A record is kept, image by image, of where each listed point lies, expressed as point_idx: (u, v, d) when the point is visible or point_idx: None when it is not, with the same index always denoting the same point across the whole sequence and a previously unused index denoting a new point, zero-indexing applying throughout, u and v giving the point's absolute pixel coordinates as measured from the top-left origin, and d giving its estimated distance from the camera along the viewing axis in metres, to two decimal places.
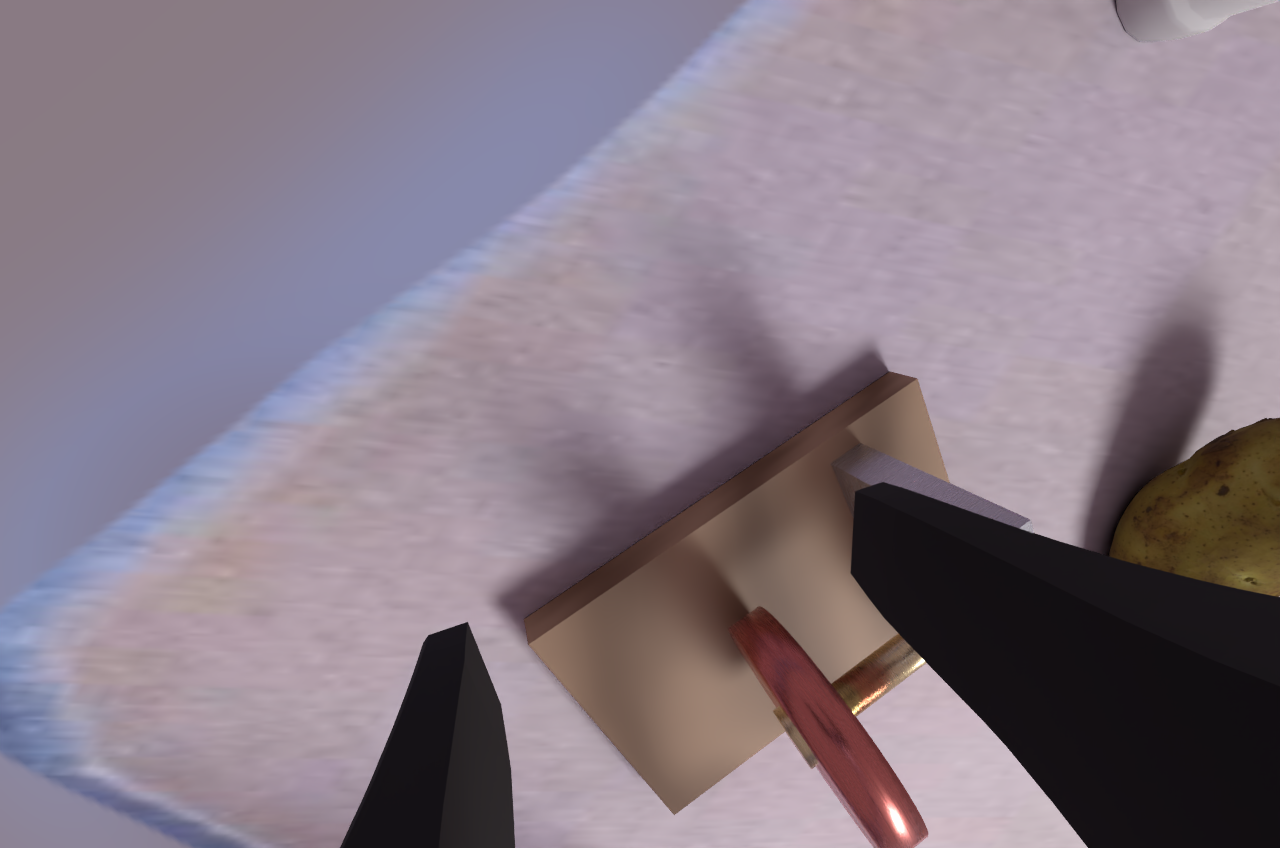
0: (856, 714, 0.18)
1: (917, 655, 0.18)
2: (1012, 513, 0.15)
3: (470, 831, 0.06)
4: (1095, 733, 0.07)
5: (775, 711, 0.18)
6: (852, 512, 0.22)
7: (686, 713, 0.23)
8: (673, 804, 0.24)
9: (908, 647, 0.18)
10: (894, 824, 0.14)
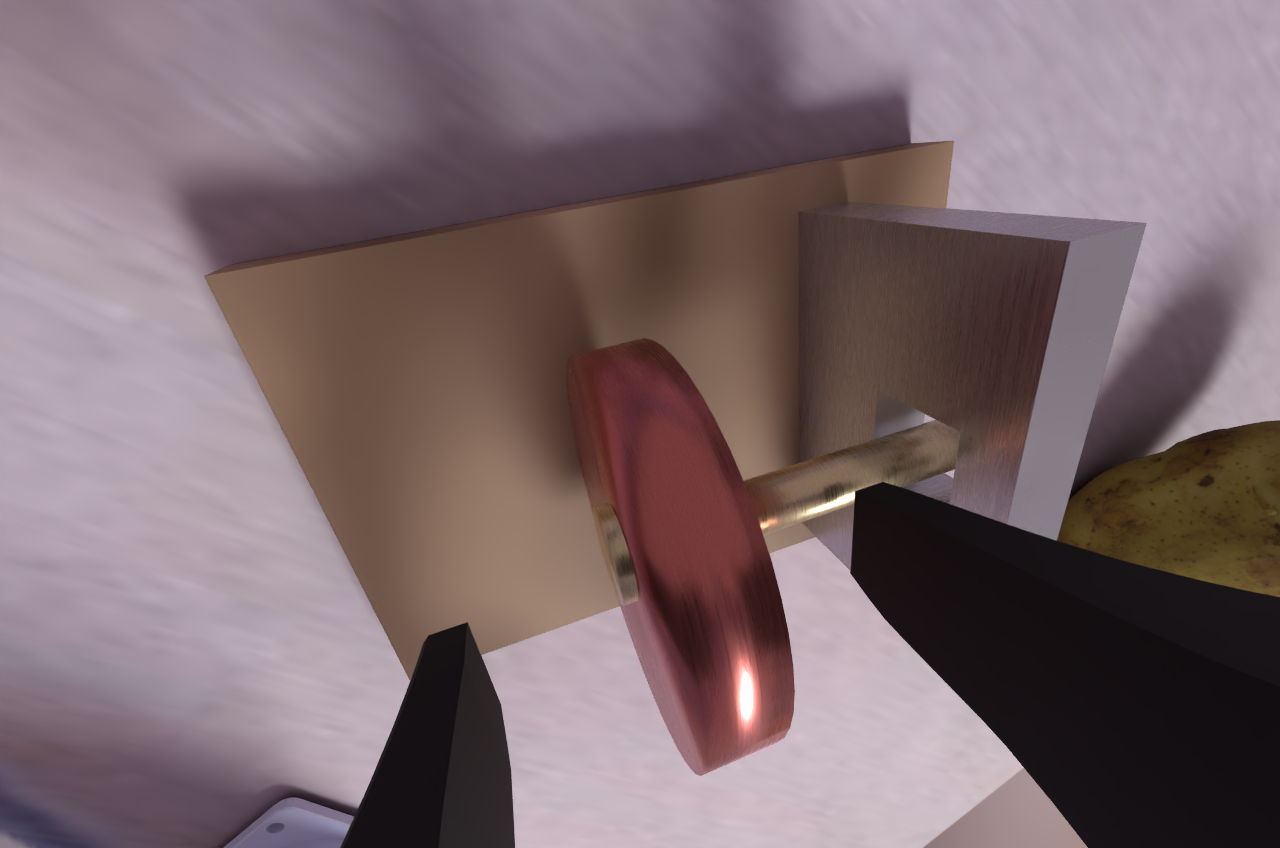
0: None
1: (844, 483, 0.11)
2: (1108, 220, 0.09)
3: (470, 831, 0.06)
4: (1095, 733, 0.07)
5: (596, 506, 0.11)
6: (801, 310, 0.15)
7: (468, 526, 0.15)
8: (412, 663, 0.16)
9: (834, 468, 0.11)
10: (742, 681, 0.07)
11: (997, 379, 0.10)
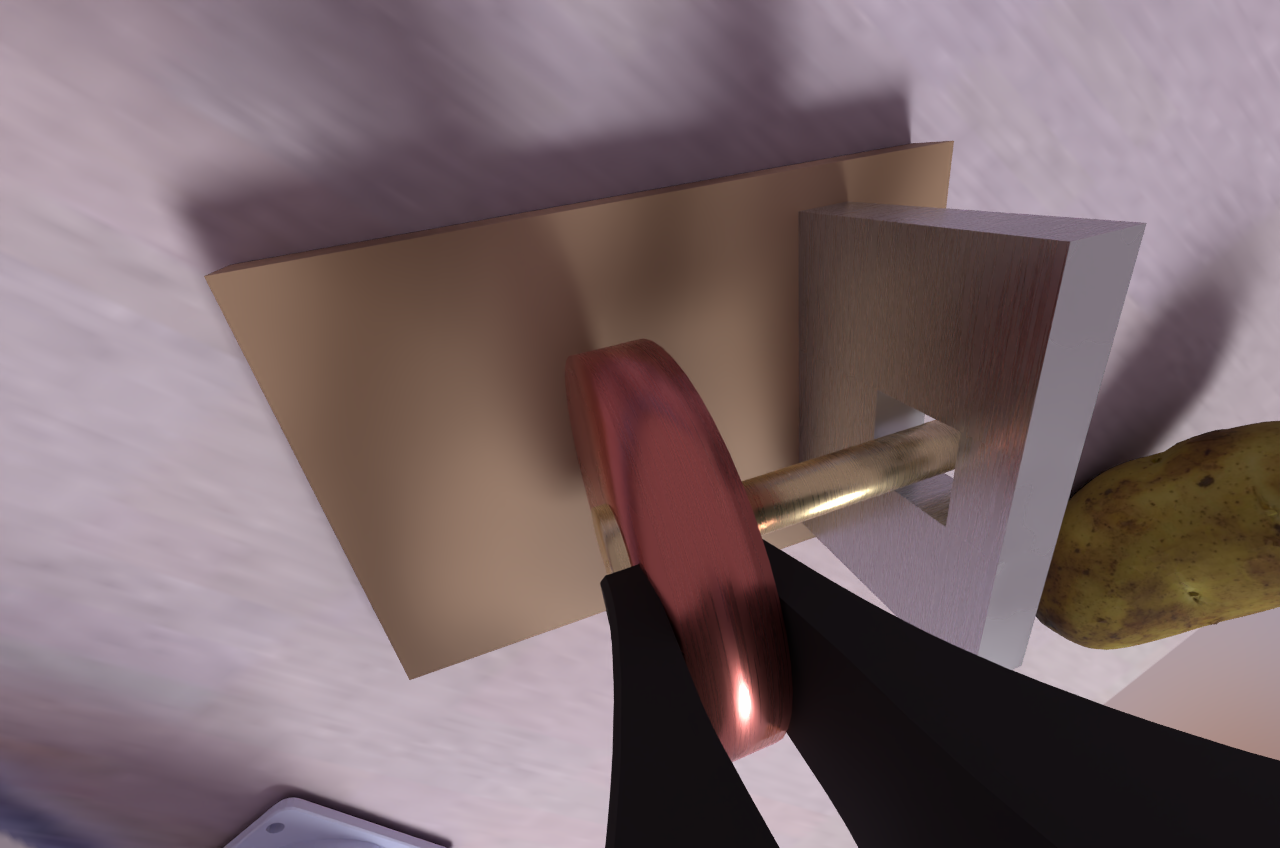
0: None
1: (843, 483, 0.11)
2: (1108, 220, 0.09)
3: None
4: (903, 831, 0.06)
5: (594, 506, 0.11)
6: (801, 310, 0.15)
7: (468, 526, 0.15)
8: (412, 663, 0.16)
9: (833, 469, 0.11)
10: (740, 683, 0.07)
11: (997, 379, 0.10)
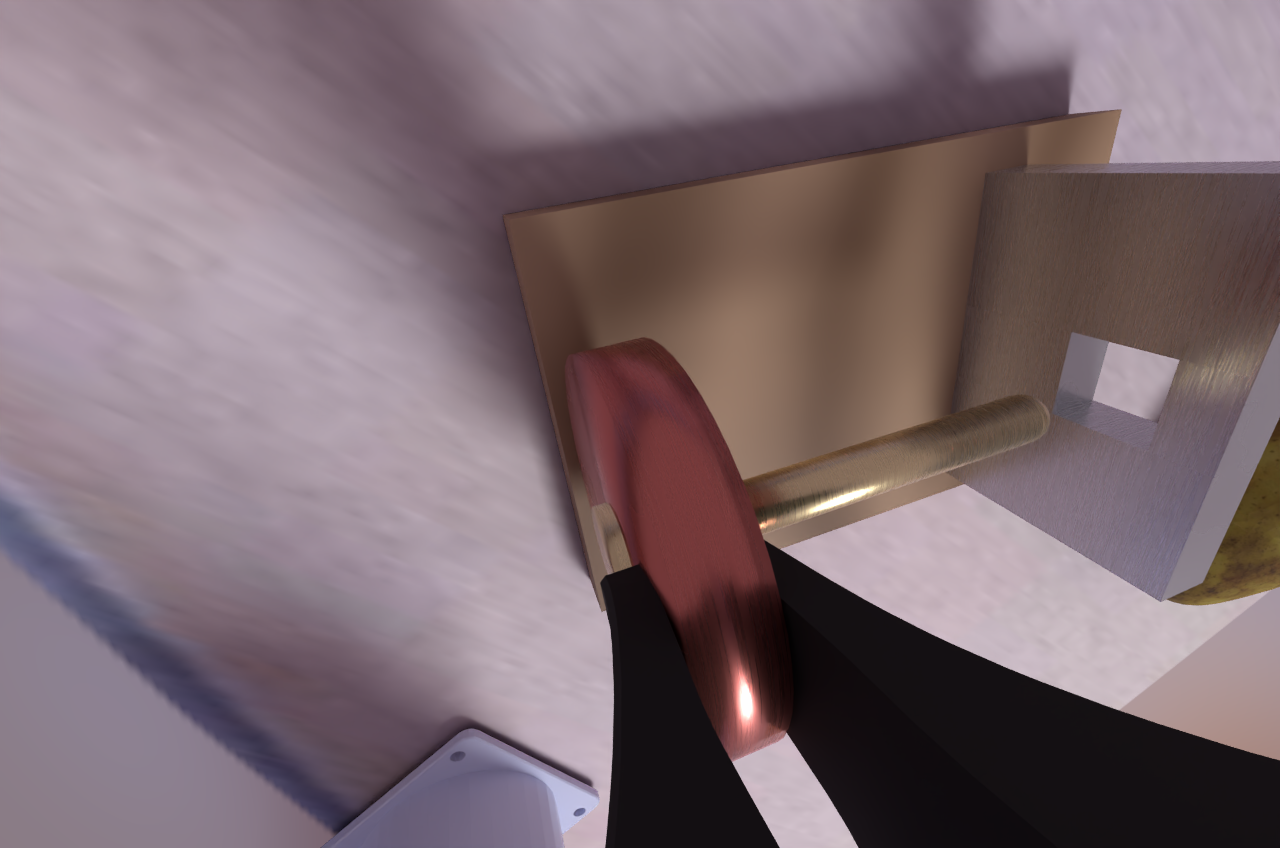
0: None
1: (843, 482, 0.11)
2: None
3: None
4: (903, 831, 0.06)
5: (595, 505, 0.11)
6: (975, 266, 0.16)
7: None
8: None
9: (833, 468, 0.11)
10: (740, 682, 0.07)
11: (1234, 306, 0.11)
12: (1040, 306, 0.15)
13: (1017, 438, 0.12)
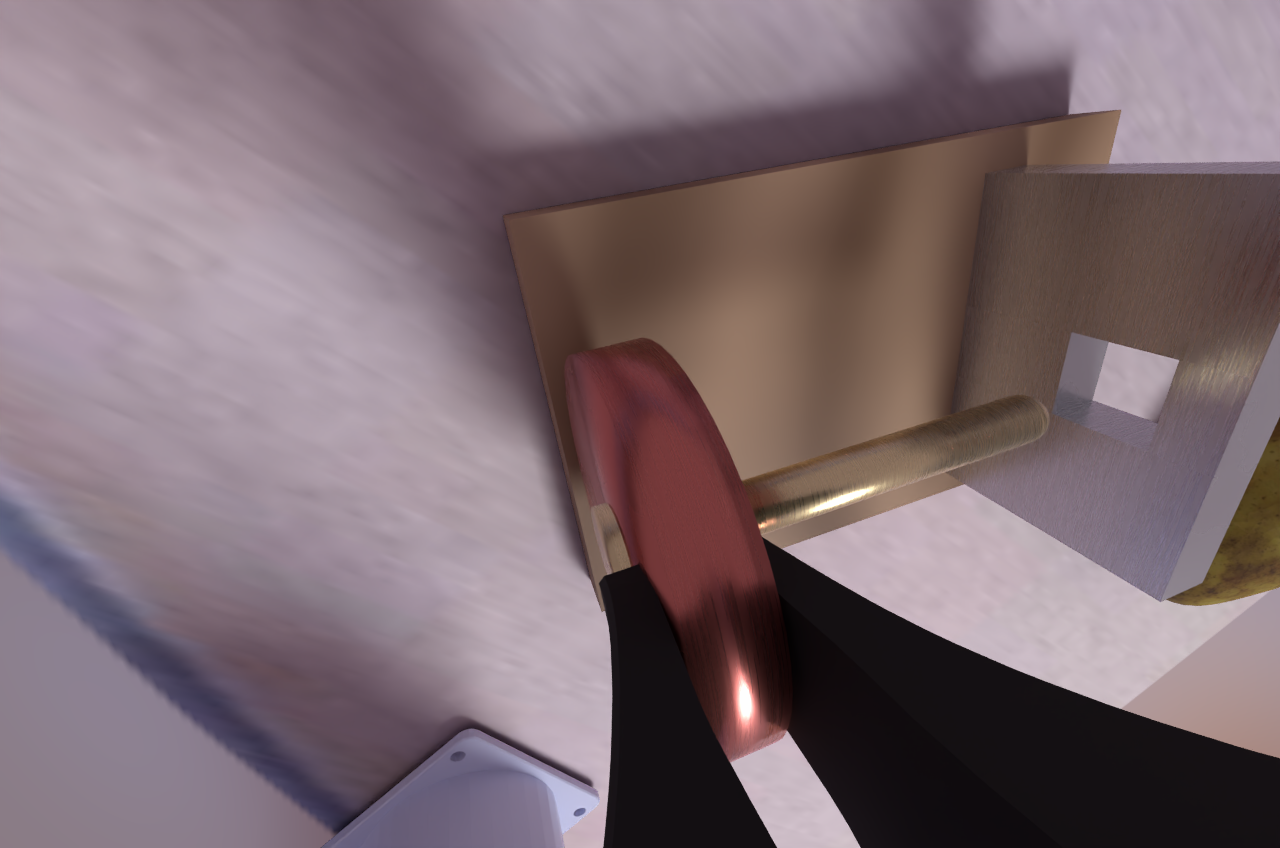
0: None
1: (843, 483, 0.11)
2: None
3: None
4: (906, 830, 0.06)
5: (594, 506, 0.11)
6: (975, 266, 0.16)
7: None
8: None
9: (833, 468, 0.11)
10: (740, 682, 0.07)
11: (1234, 306, 0.11)
12: (1040, 306, 0.15)
13: (1016, 438, 0.12)
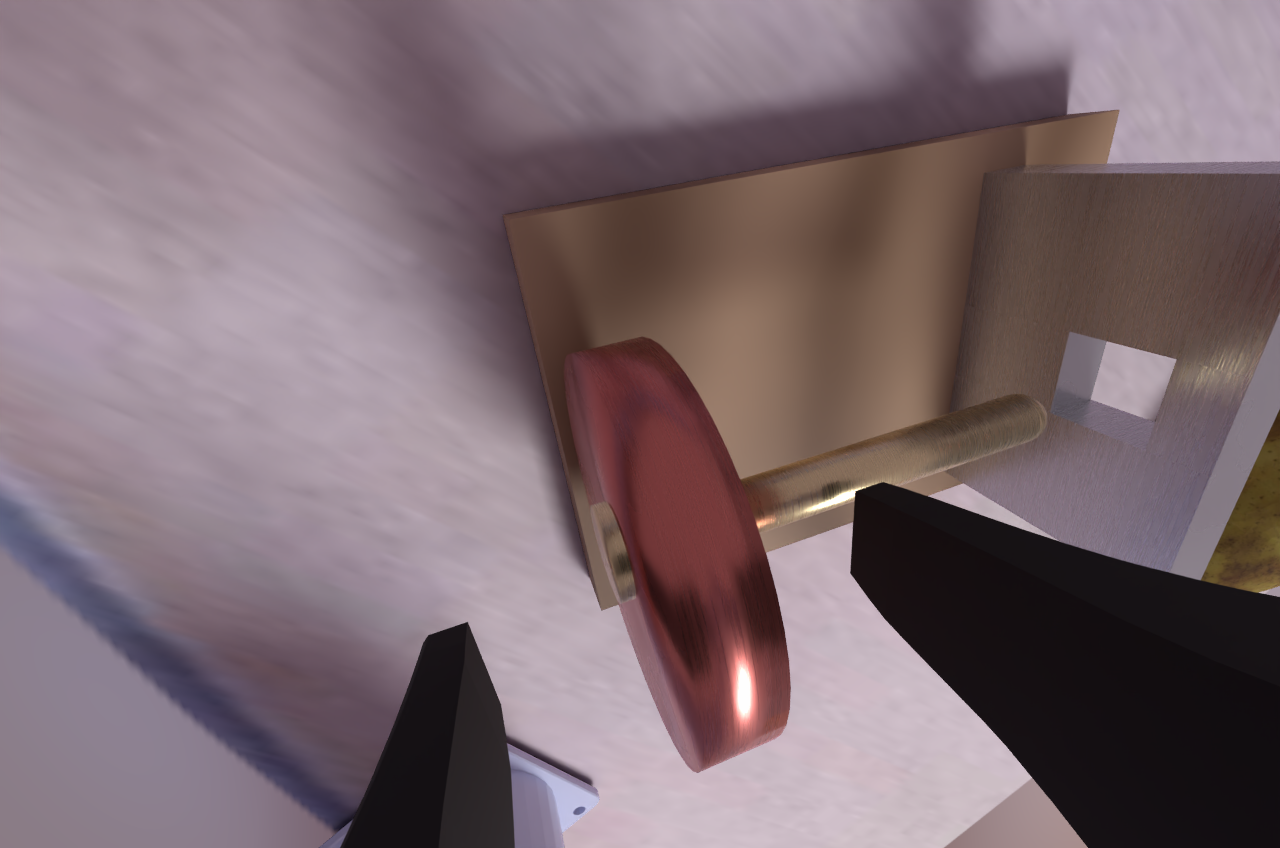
0: None
1: (841, 481, 0.11)
2: None
3: (470, 831, 0.06)
4: (1095, 733, 0.07)
5: (593, 504, 0.11)
6: (974, 266, 0.16)
7: None
8: (606, 594, 0.17)
9: (831, 467, 0.11)
10: (738, 678, 0.07)
11: (1231, 305, 0.11)
12: (1038, 306, 0.15)
13: (1014, 437, 0.12)
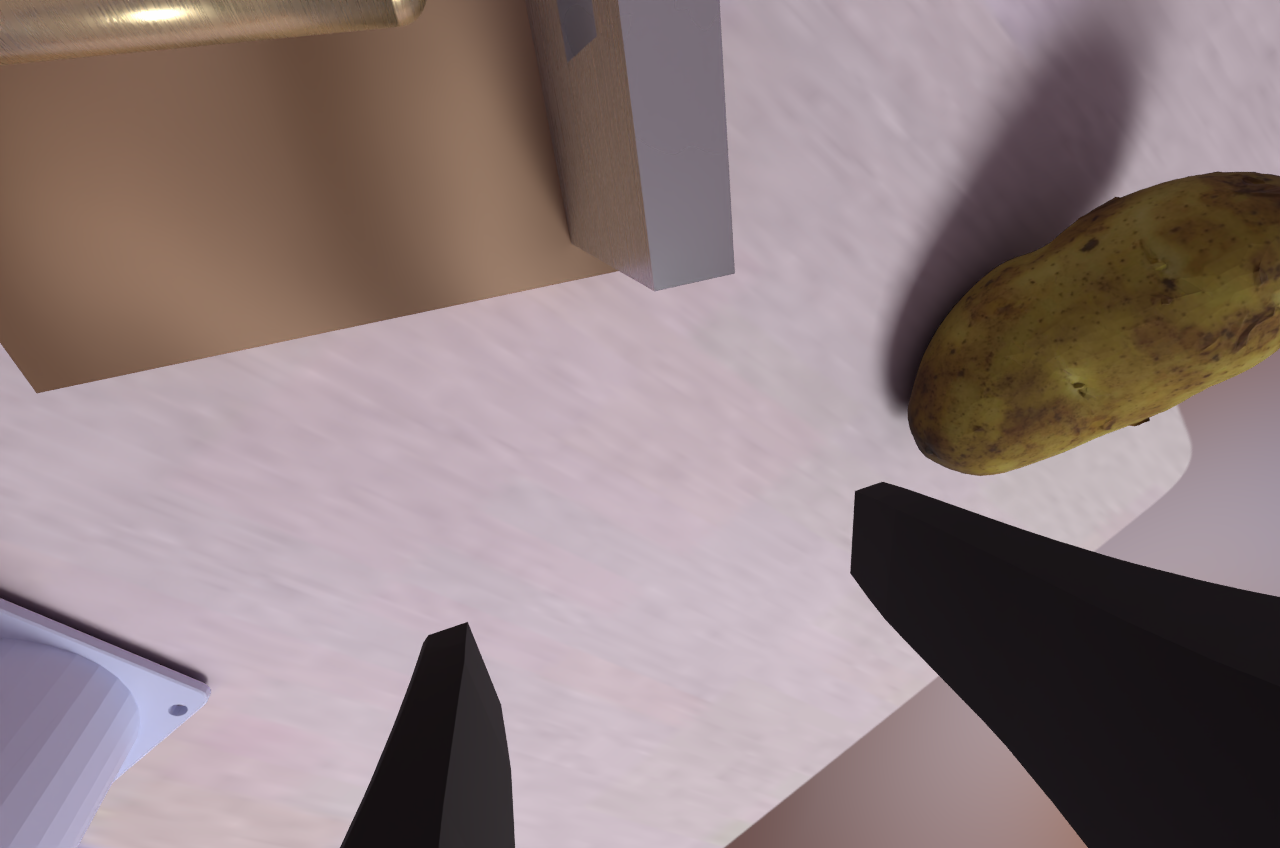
0: None
1: None
2: None
3: (470, 831, 0.06)
4: (1095, 733, 0.07)
5: None
6: None
7: (64, 156, 0.11)
8: (34, 367, 0.12)
9: None
10: None
11: None
12: None
13: None
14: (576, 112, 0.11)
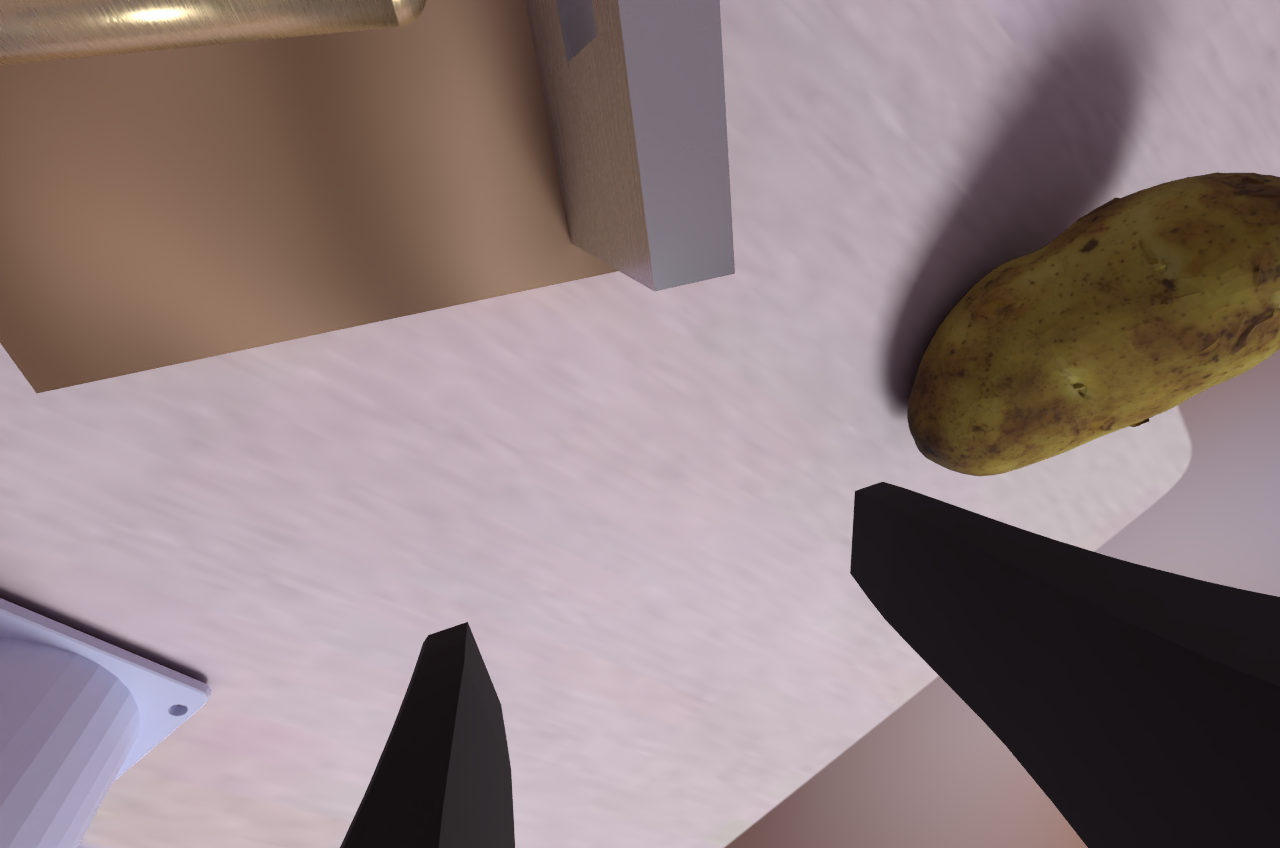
0: None
1: None
2: None
3: (470, 831, 0.06)
4: (1095, 733, 0.07)
5: None
6: None
7: (64, 156, 0.11)
8: (34, 367, 0.12)
9: None
10: None
11: None
12: None
13: None
14: (576, 112, 0.11)
